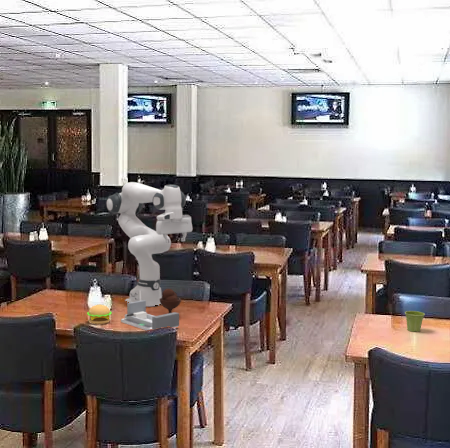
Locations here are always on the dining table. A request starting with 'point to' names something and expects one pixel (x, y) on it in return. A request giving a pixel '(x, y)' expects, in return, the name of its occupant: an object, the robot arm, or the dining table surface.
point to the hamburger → (99, 314)
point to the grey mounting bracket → (153, 321)
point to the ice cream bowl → (169, 300)
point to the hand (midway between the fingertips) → (175, 242)
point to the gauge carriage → (137, 309)
